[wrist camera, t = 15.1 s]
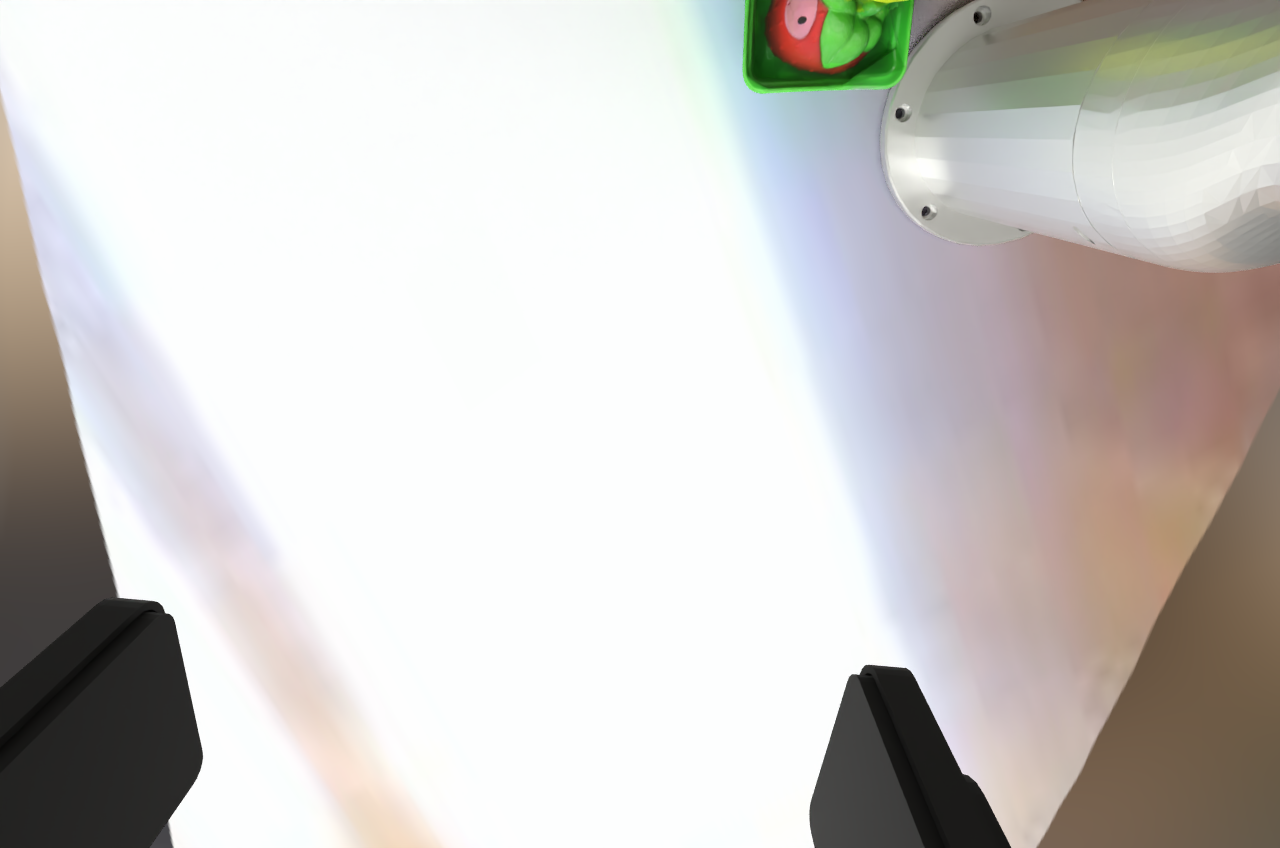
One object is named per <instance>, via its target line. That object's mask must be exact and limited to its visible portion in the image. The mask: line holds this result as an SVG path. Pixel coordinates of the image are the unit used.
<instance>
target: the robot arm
mask: <svg viewBox="0 0 1280 848" xmlns="http://www.w3.org/2000/svg"><path fill="white" fill-rule="evenodd" d="M974 13H977V14H978V16H979V20H978V22H977V23H975V22H974V20H973V18H974ZM898 108H899V109H901V110H902V115H901V117H900V118H899V119H898V118H896V117H895V112H896V110H897V109H898ZM880 153H881V165H882V168H883V172H884V176H885V179H886V183H887V186H888V188H889V190H890V192H891V194H892V196H893V198H894V199H895V201H896V203H897V205H898V206H899V207H900V208H901V209H902V211H903V212H904V213H905V214H906V216H907V217H908V218H909V219H910V220H911V221H913V222H914V223H915V224H917V225H918V226H919V227H920V228H922V229H923V230H924V231H926V232H928V233H931V234H933V235H935V236H937V237H939V238H941V239H944V240H947V241H951V242H954V243H957V244H964V245H973V246H987V245H999V244H1003V243H1007V242H1011V241H1014V240H1018V239H1022V238H1024V237H1026V236H1028V235H1030V234H1033V233H1038V234H1041V235H1045V236H1049V237H1053V238H1057V239H1061V240H1065V241H1068V242H1072V243H1076V244H1080V245H1084V246H1088V247H1092V248H1096V249H1099V250H1103V251H1107V252H1111V253H1115V254H1119V255H1123V256H1126V257H1130V258H1134V259H1138V260H1142V261H1146V262H1150V263H1153V264H1157V265H1161V266H1165V267H1170V268H1175V269H1180V270H1186V271H1193V272H1216V273H1221V272H1236V271H1244V270H1250V269H1255V268H1261V267H1265V266H1270V265H1275V264H1278V263H1280V0H1087V1H1082V0H974V1H972V2H970V3H969V4H967V5H965V6H963V7H961V8H959V9H957V10H955V11H954V12H952V13H951V14H950V15H948V16H947V17H946V18H945V19H943V20H942V21H941V22H939V23H938V24H937V25H936V26H934V27H933V28H932V29H931V30H930V31H929V32H928V33H927V34H926V35H925V37H924V38H923V39H922V40H921V41H920V42H919V43H918V44H917V45H916V46H915V47H914V49H913V50H912V52H911V53H910V55H909V56H908V61H907V69H906V72H905V74H904V76H903V78H902V79H901V80H900V81H899V82H898V83H897V84H896V85H895V86H893V87H891V90H890V92H889V94H888V98H887V101H886V105H885V109H884V112H883V116H882V123H881V133H880ZM925 206H926V207H927V212H926V214H924V215H921V211H922V210H923V208H924V207H925ZM202 760H203V751H202V747H201V742H200V737H199V733H198V728H197V723H196V719H195V714H194V709H193V705H192V700H191V695H190V691H189V686H188V681H187V677H186V672H185V667H184V663H183V658H182V653H181V649H180V644H179V639H178V635H177V630H176V625H175V621H174V619H173V617H172V616H171V615H170V614H166V613H165V611H164V609H163V606H162V605H161V604H159V603H158V602H155V601H146V600H135V599H124V598H108V599H104V600H103V601H102V602H100V603H98V604H97V605H96V606H94V607H93V608H92V609H91V610H90V611H89V612H87V613H86V614H85V615H84V616H83V617H82V618H81V619H79V620H78V621H77V622H76V623H75V624H74V625H72V626H71V627H70V628H69V629H68V630H67V631H66V632H64V633H63V634H62V635H61V636H60V637H59V638H57V639H56V640H55V641H54V642H53V643H52V644H50V645H49V646H48V647H47V648H46V649H45V650H44V651H42V652H41V653H40V654H39V655H38V656H36V658H34V659H33V660H32V661H31V662H30V663H28V664H27V665H26V666H25V667H24V668H23V669H21V670H20V671H19V672H18V673H17V674H16V675H15V676H13V677H12V678H11V679H10V680H9V681H8V682H6V683H5V684H4V685H3V686H2V687H1V688H0V848H150V846H151V845H152V843H153V842H154V840H155V839H156V837H157V836H158V834H159V833H160V832H161V830H162V829H163V827H164V825H165V824H166V823H167V822H168V820H169V819H170V817H171V816H172V814H173V813H174V811H175V810H176V809H177V807H178V806H179V804H180V803H181V801H182V800H183V798H184V797H185V796H186V794H187V793H188V791H189V790H190V788H191V787H192V785H193V784H194V782H195V780H196V779H197V777H198V774H199V772H200V769H201V765H202ZM810 828H811V834H812V838H813V842H814V846H815V848H1011V846H1010V844H1009V842H1008V840H1007V838H1006V836H1005V835H1004V833H1003V831H1002V829H1001V827H1000V825H999V823H998V821H997V819H996V817H995V815H994V813H993V811H992V809H991V807H990V805H989V803H988V801H987V799H986V797H985V795H984V794H983V792H982V791H981V789H980V788H979V786H978V784H977V783H976V782H975V781H974V780H973V779H972V778H970V777H969V776H968V775H964V774H962V772H961V770H960V768H959V766H958V764H957V762H956V760H955V758H954V756H953V754H952V752H951V750H950V748H949V746H948V744H947V742H946V740H945V738H944V736H943V734H942V732H941V730H940V728H939V726H938V724H937V722H936V720H935V718H934V716H933V714H932V712H931V709H930V707H929V705H928V703H927V701H926V699H925V697H924V695H923V693H922V691H921V689H920V687H919V685H918V683H917V681H916V679H915V677H914V676H913V674H912V673H911V671H910V670H908V669H907V668H898V667H887V666H876V665H865V666H864V667H863V668H862V671H861V673H860V675H856V674H852V675H851V676H850V677H849V679H848V681H847V685H846V688H845V691H844V695H843V698H842V701H841V704H840V708H839V711H838V714H837V718H836V721H835V724H834V727H833V731H832V734H831V737H830V741H829V744H828V747H827V750H826V754H825V757H824V760H823V764H822V767H821V770H820V773H819V777H818V780H817V783H816V787H815V790H814V793H813V796H812V800H811V804H810Z"/></svg>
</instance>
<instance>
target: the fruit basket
mask: <svg viewBox="0 0 1280 848" xmlns="http://www.w3.org/2000/svg"><path fill="white" fill-rule="evenodd" d="M913 7H914V0H745V23H744V49H743V77H744V81H745V83H746V85H747V86H748V88H749V89H751V90H752V91H754V92H756V93H761V94H763V93H779V92H799V91H825V90H882V89H888V88H891V87H893V86H895V85H896V84H897V83H898V82H899V81H900V80H901V79H902V78H903V76H904V74H905V72H906V69H907V61H908V52H909V42H910V33H911V25H912V15H913Z"/></svg>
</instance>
